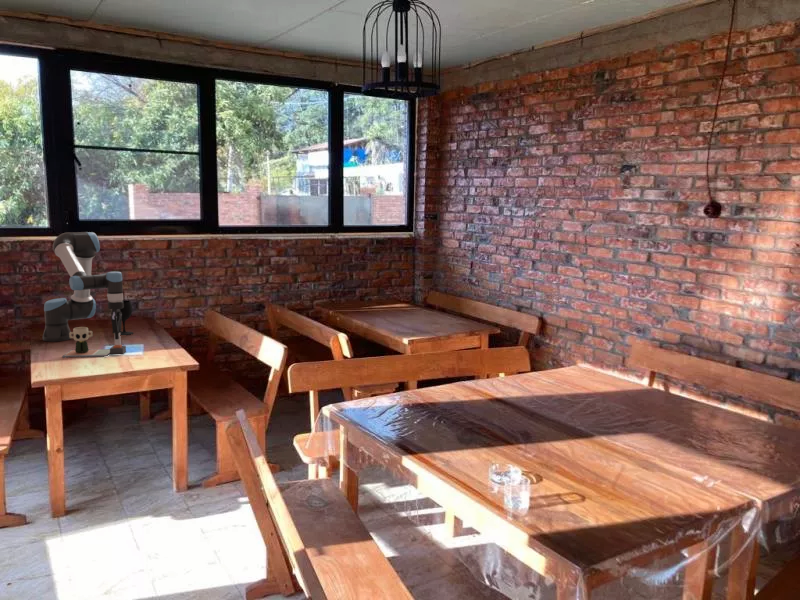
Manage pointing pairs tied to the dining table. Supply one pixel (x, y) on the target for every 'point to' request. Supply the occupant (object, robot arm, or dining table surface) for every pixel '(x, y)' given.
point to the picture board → (88, 353)
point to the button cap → (118, 346)
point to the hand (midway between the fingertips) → (117, 344)
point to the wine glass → (126, 315)
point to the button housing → (117, 350)
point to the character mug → (81, 338)
